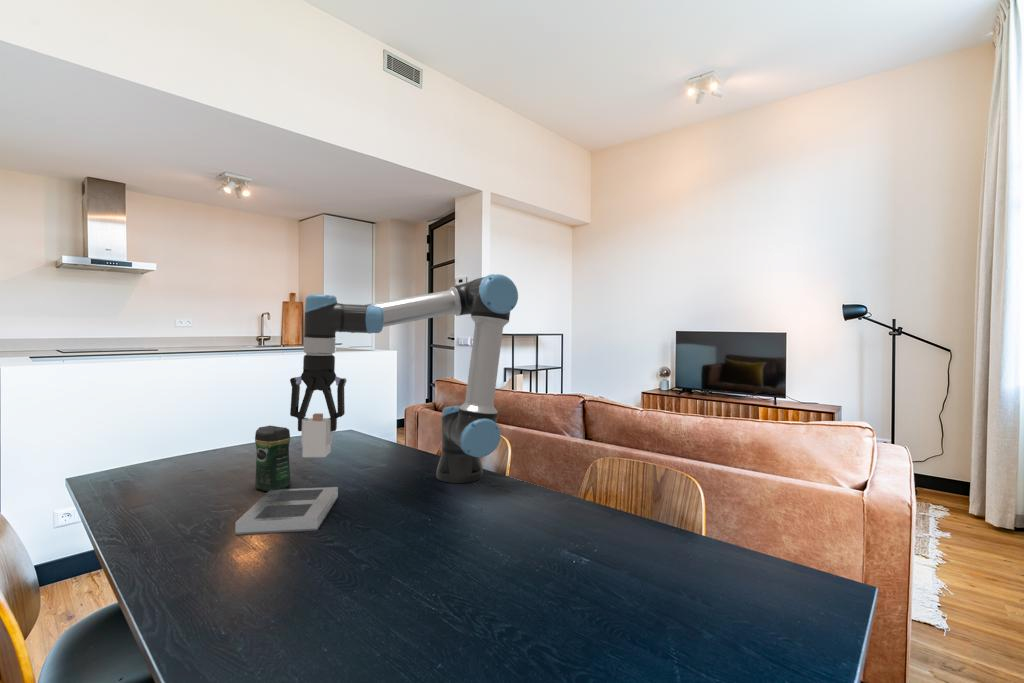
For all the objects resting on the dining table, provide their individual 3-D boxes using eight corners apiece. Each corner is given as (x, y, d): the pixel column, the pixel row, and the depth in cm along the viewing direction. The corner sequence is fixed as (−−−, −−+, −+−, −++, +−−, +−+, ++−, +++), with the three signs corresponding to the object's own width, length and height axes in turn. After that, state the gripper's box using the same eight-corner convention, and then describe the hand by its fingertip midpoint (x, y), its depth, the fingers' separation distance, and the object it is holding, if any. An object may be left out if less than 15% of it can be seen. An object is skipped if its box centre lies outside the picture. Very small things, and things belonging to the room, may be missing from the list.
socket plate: (337, 497, 132) (337, 486, 132) (317, 530, 110) (317, 518, 110) (270, 500, 129) (270, 489, 129) (235, 535, 108) (235, 522, 108)
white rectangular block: (330, 451, 124) (331, 412, 124) (325, 457, 118) (326, 416, 118) (309, 451, 123) (310, 412, 123) (302, 457, 118) (303, 415, 118)
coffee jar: (295, 486, 141) (295, 425, 141) (271, 494, 134) (271, 430, 134) (274, 481, 146) (274, 422, 145) (250, 489, 139) (249, 427, 138)
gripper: (359, 354, 125) (356, 440, 126) (286, 352, 123) (284, 440, 123) (353, 356, 118) (350, 447, 118) (276, 354, 116) (273, 447, 116)
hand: (316, 443), depth 121 cm, fingers closed on white rectangular block, 5 cm apart
